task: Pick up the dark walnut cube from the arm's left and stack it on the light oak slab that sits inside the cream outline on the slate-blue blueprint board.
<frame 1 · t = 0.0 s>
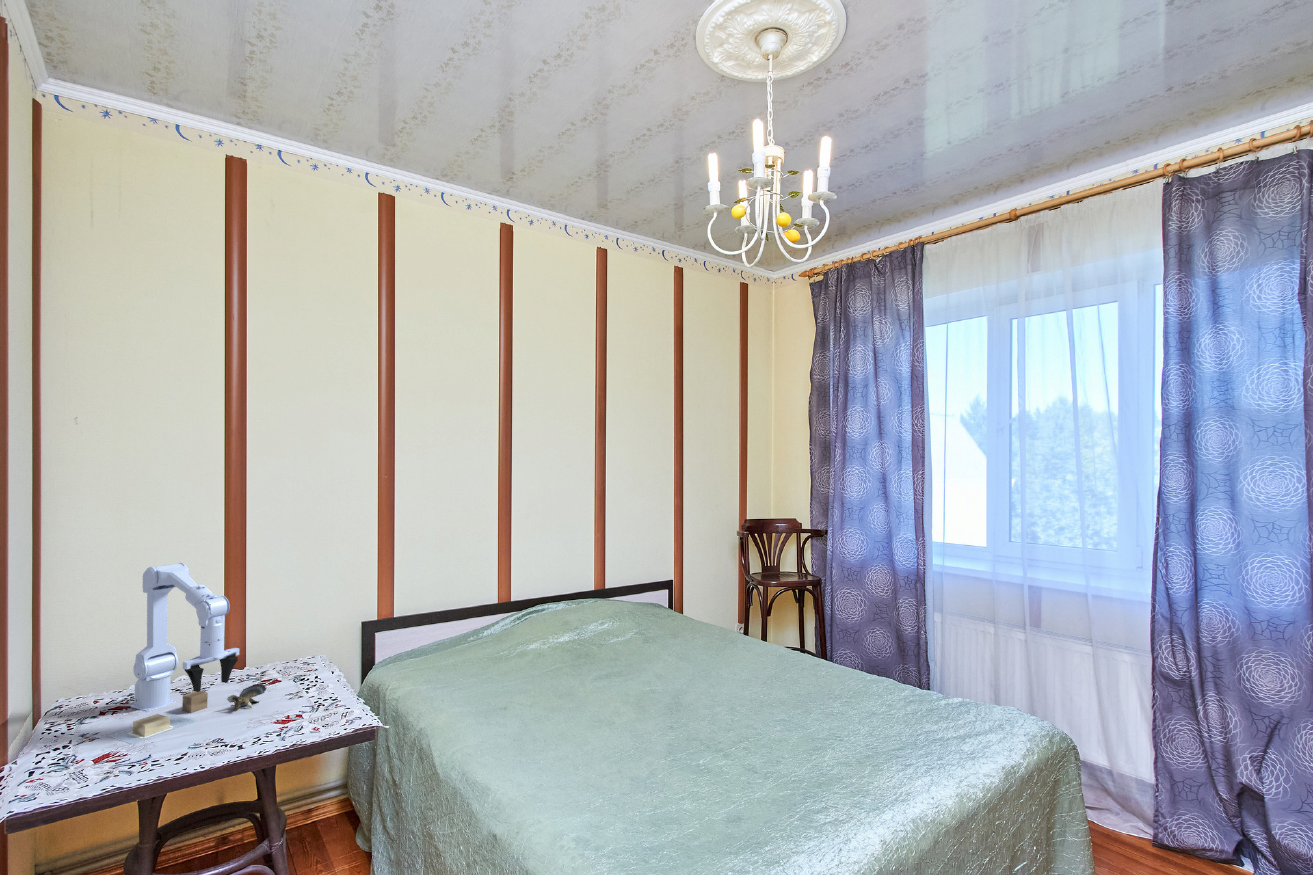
hand: (211, 686, 181), 10 cm above the table, fingers open, 7 cm apart
oak slab: (151, 730, 174), resting on blueprint board
blueprint board: (153, 729, 176), on the table
walnut block: (194, 710, 189), on the table
eagle figurine: (246, 708, 192), on the table
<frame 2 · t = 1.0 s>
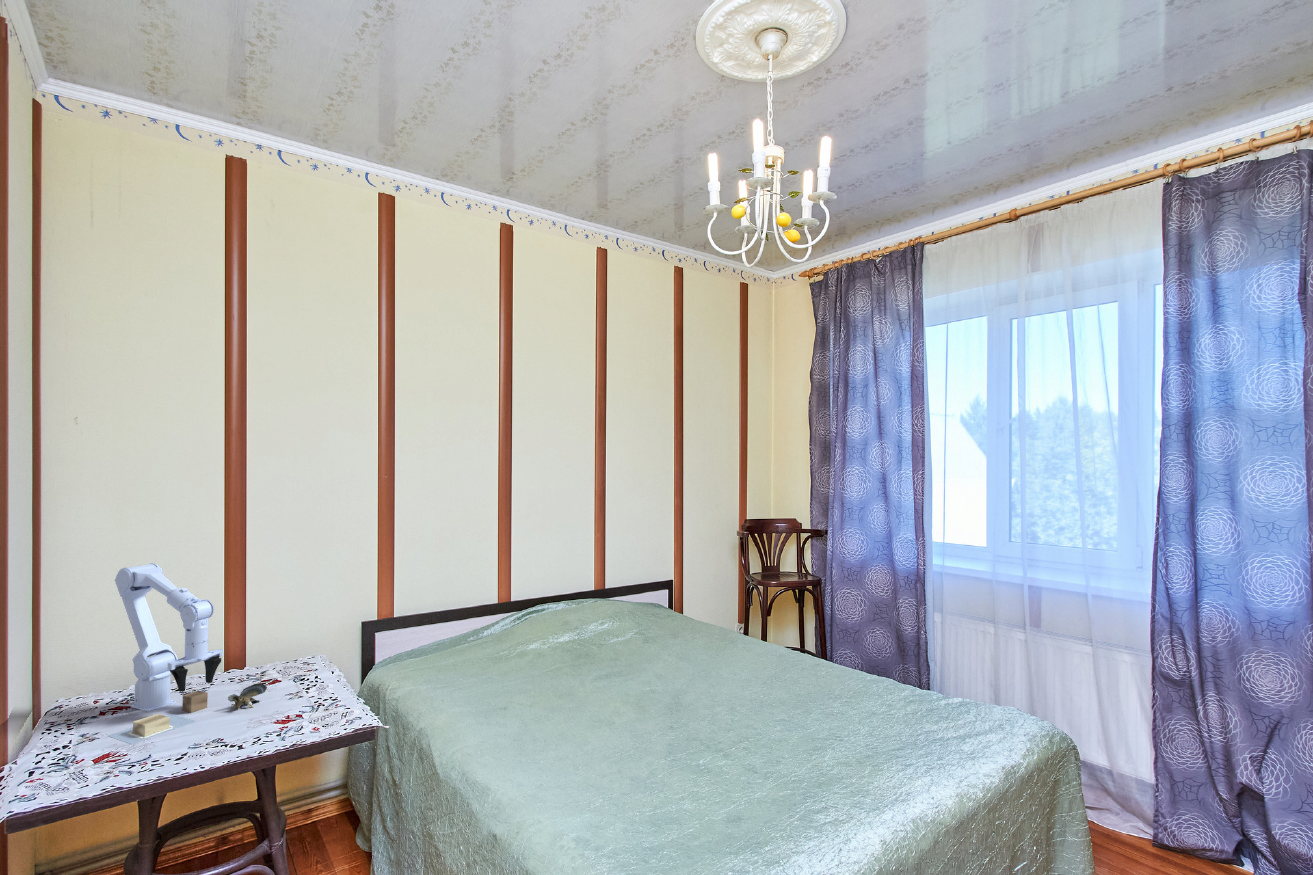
hand: (195, 686, 189), 7 cm above the table, fingers open, 7 cm apart
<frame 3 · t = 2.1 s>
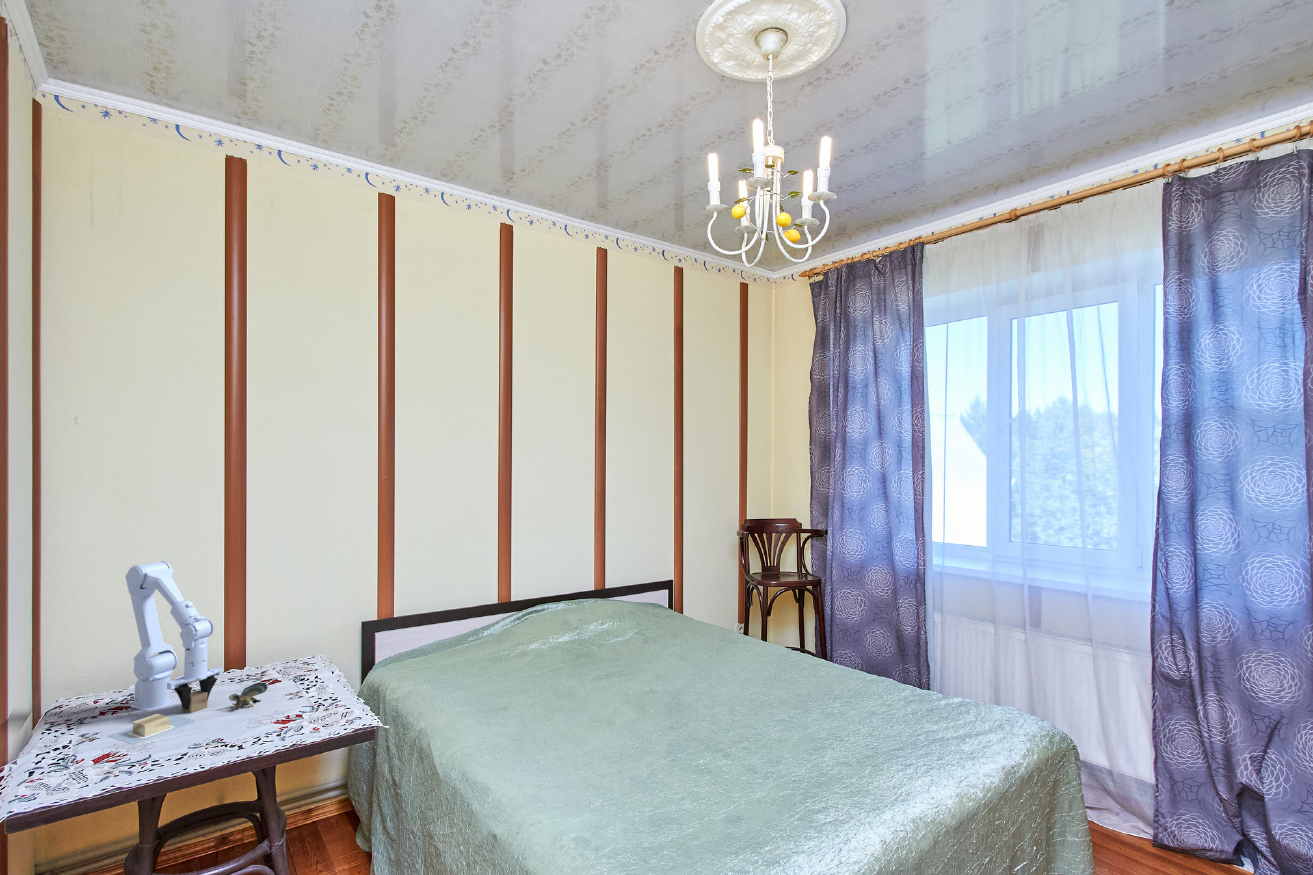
hand: (194, 705, 189), 1 cm above the table, fingers closed on walnut block, 4 cm apart
walnut block: (194, 710, 189), on the table, touching gripper
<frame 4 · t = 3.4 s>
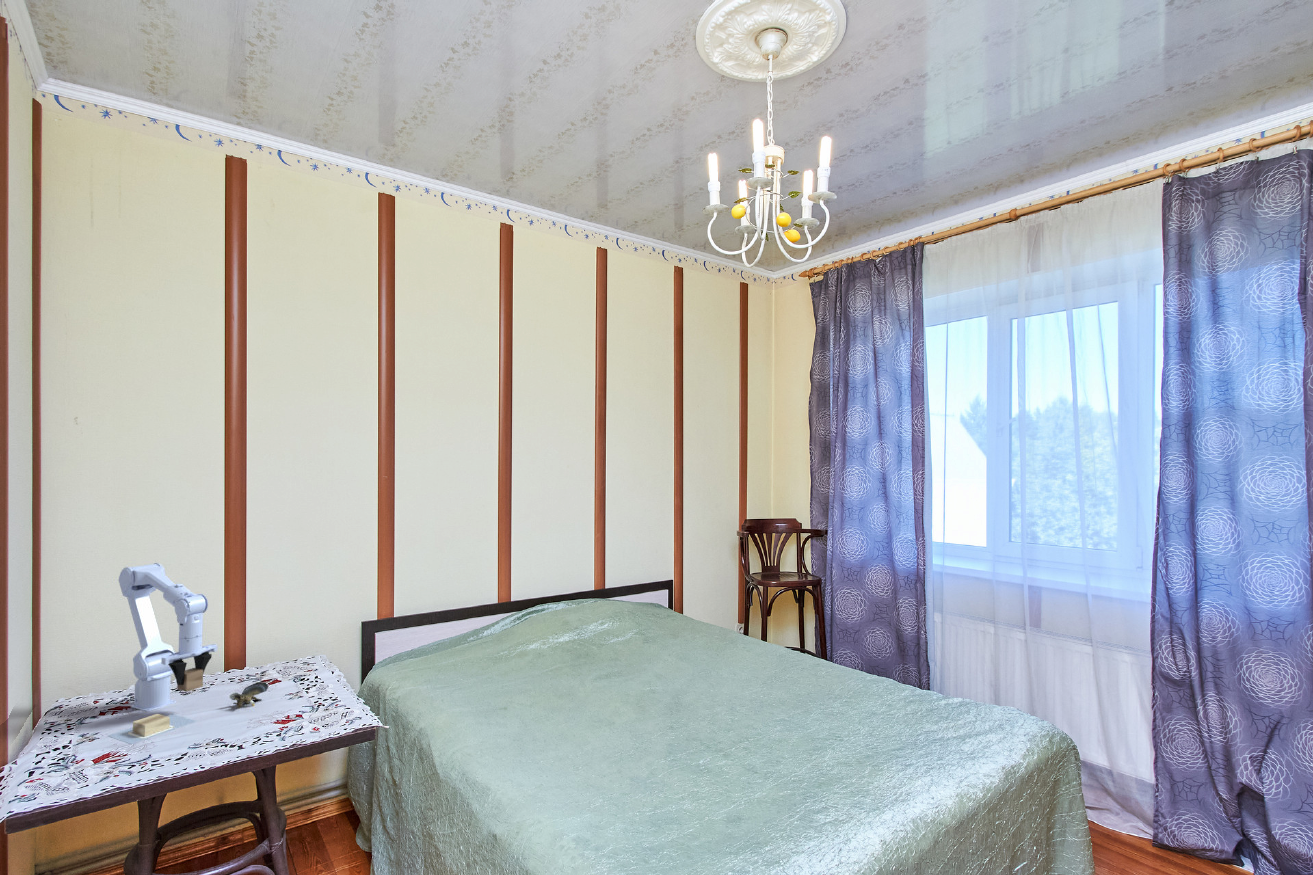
hand: (189, 681, 187), 9 cm above the table, fingers closed on walnut block, 4 cm apart
walnut block: (190, 687, 187), point 8 cm above the table, touching gripper
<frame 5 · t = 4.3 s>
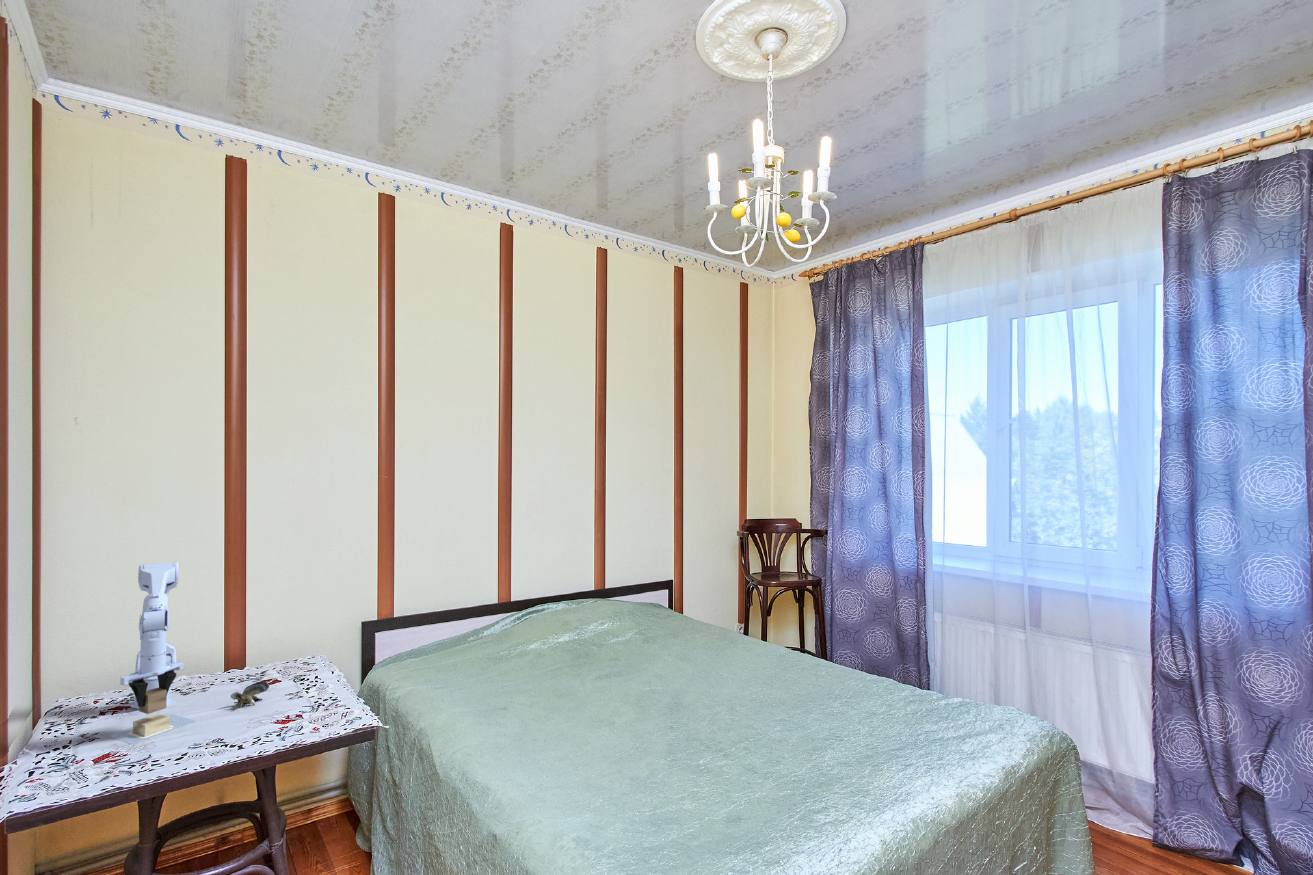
hand: (152, 702, 175), 8 cm above the table, fingers closed on walnut block, 4 cm apart
walnut block: (152, 709, 174), point 6 cm above the table, touching gripper
when the fingers open (6 cm above the table, at t = 5.0 s): walnut block stays where it is, resting on oak slab.
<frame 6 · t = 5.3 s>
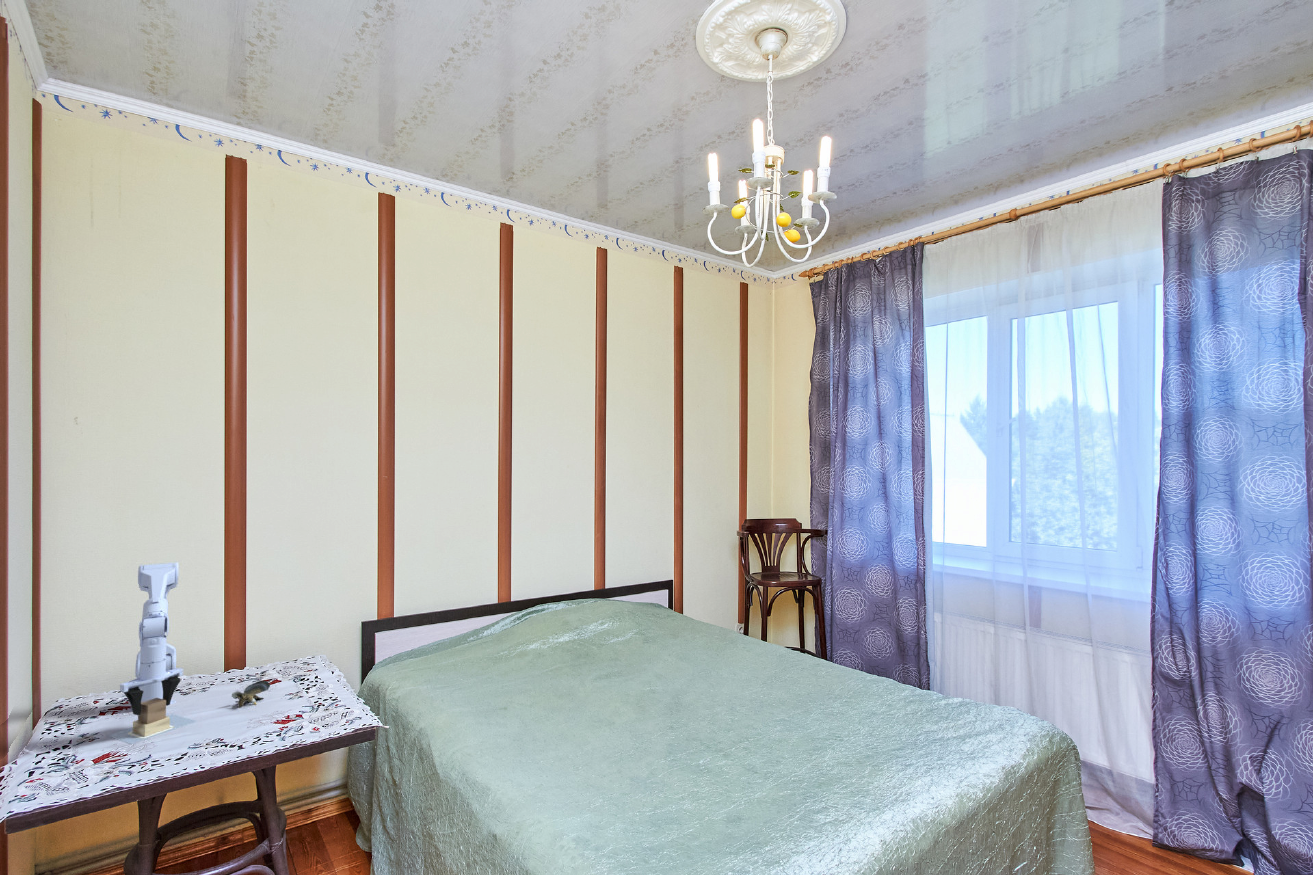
hand: (151, 709, 174), 6 cm above the table, fingers open, 7 cm apart
oak slab: (151, 730, 174), resting on blueprint board, touching walnut block
walnut block: (151, 719, 174), point 3 cm above the table, touching oak slab
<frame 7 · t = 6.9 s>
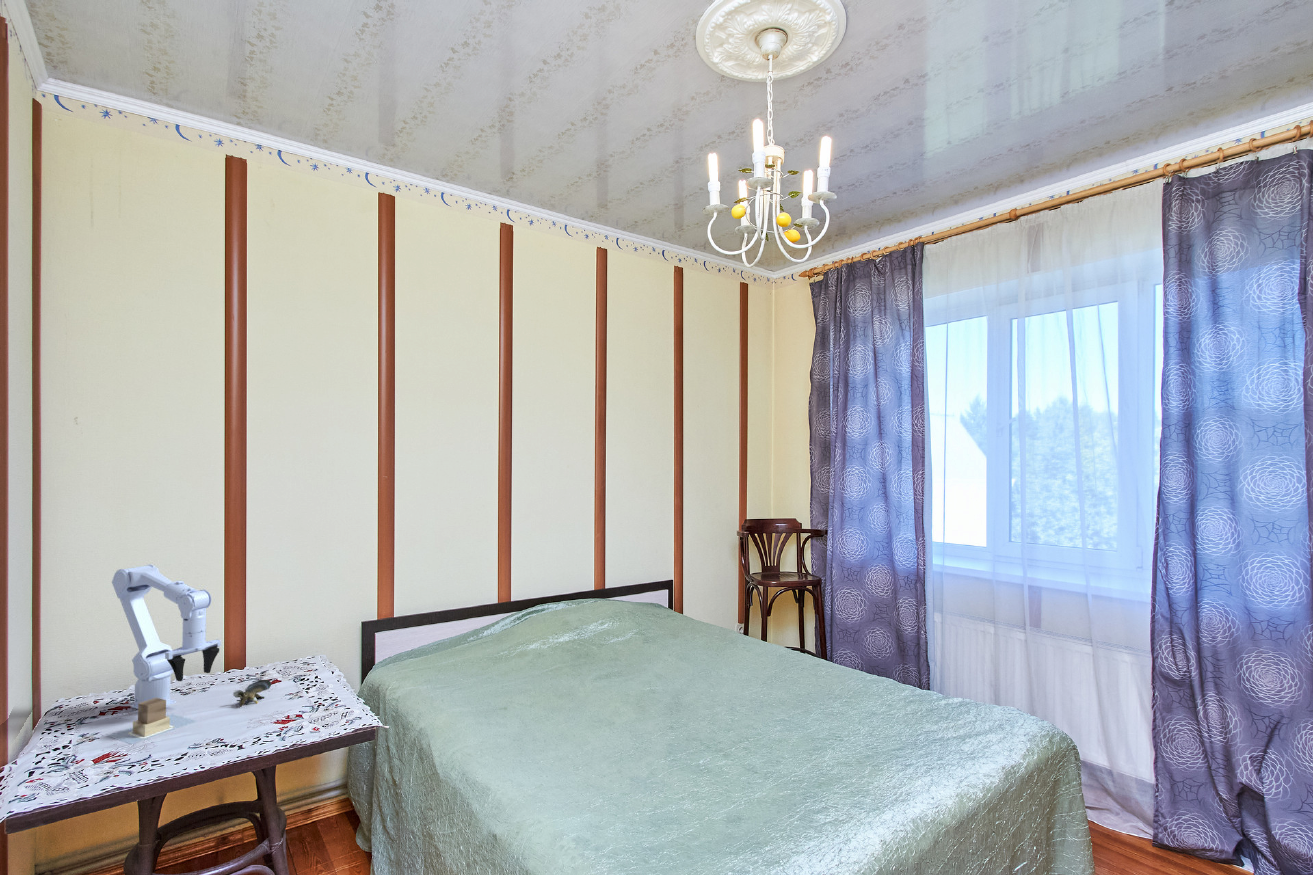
hand: (193, 676, 189), 10 cm above the table, fingers open, 7 cm apart
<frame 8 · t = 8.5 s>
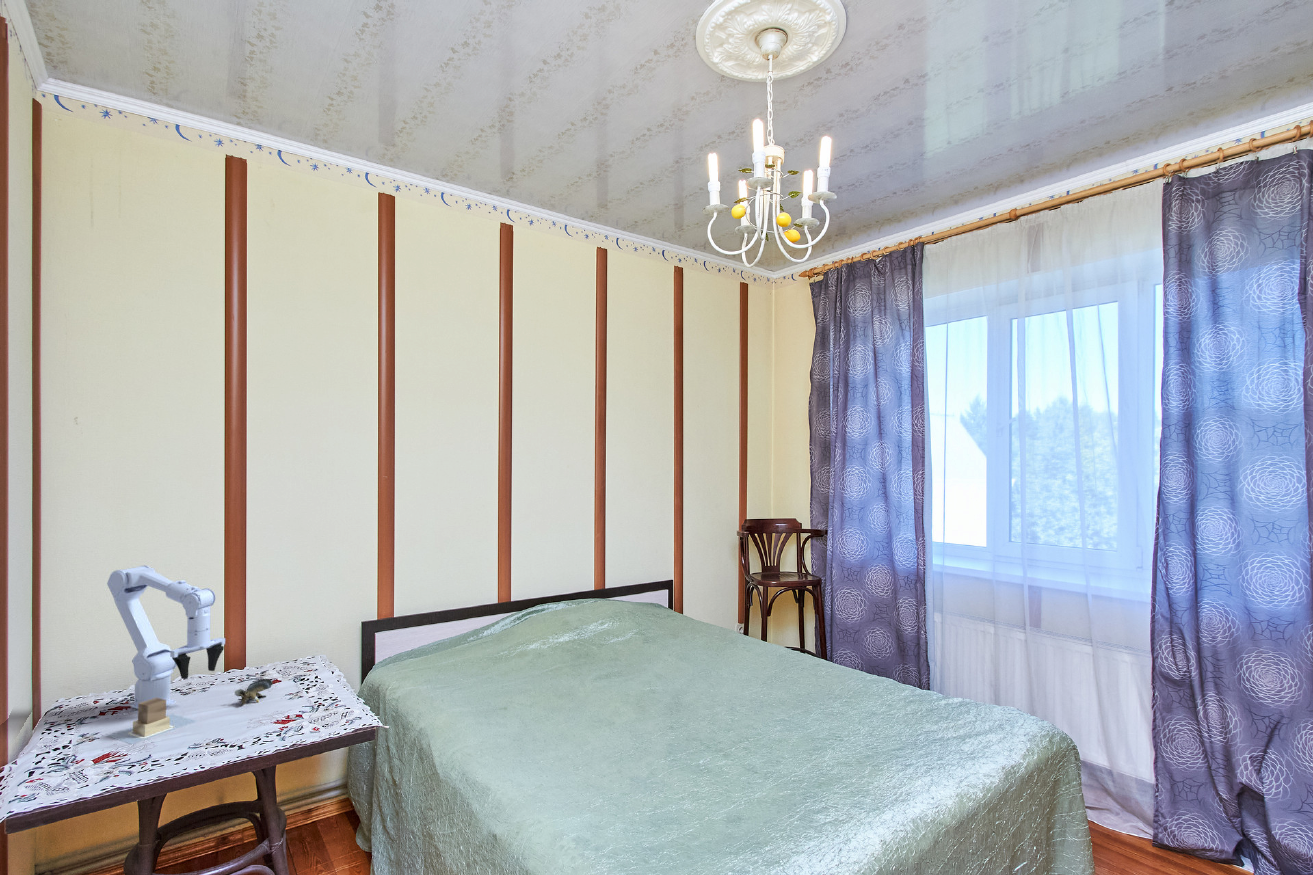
hand: (198, 674, 191), 10 cm above the table, fingers open, 7 cm apart
at the end: walnut block 0.3 cm off-centre on the oak slab, point 3.0 cm above the oak slab's base; walnut block tilted 0°; the gripper is holding nothing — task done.
